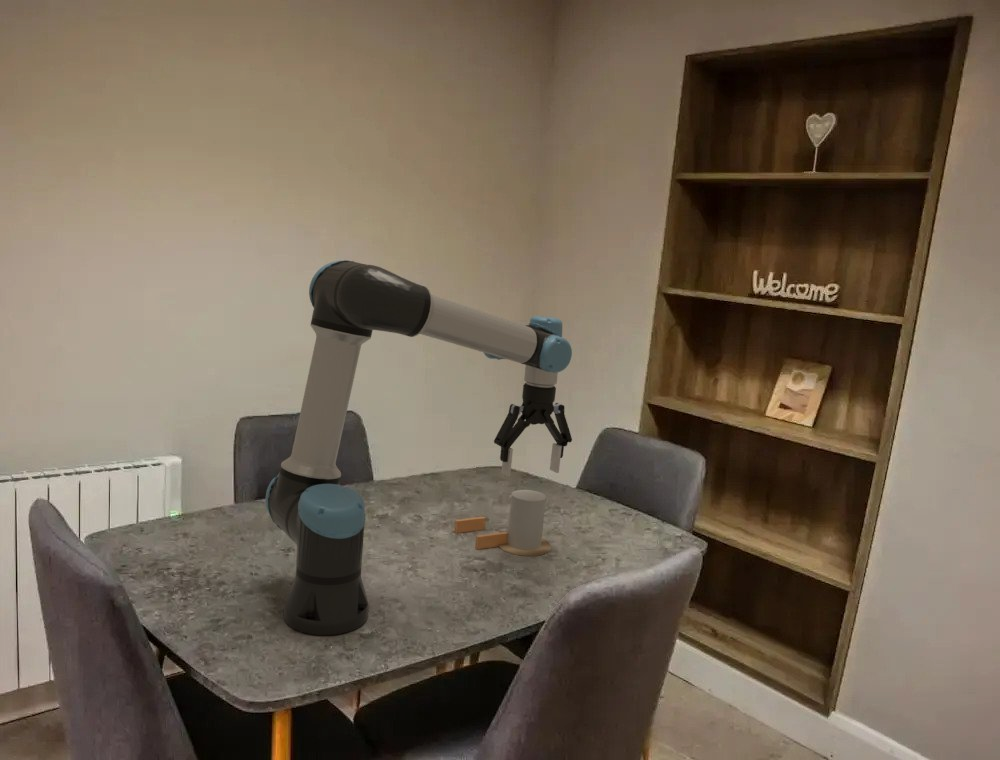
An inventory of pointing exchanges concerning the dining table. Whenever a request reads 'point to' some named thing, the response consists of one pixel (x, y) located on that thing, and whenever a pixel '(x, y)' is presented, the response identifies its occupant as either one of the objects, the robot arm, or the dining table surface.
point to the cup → (526, 519)
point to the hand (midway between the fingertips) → (530, 473)
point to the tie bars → (481, 540)
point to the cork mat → (540, 551)
